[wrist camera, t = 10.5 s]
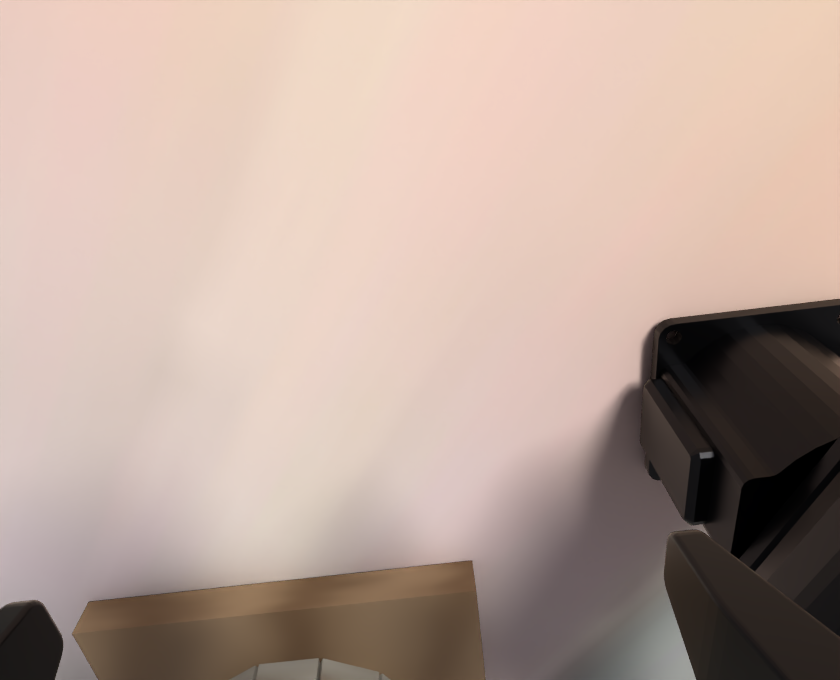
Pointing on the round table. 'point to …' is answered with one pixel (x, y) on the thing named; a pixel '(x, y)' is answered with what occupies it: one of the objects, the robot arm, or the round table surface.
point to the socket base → (295, 630)
